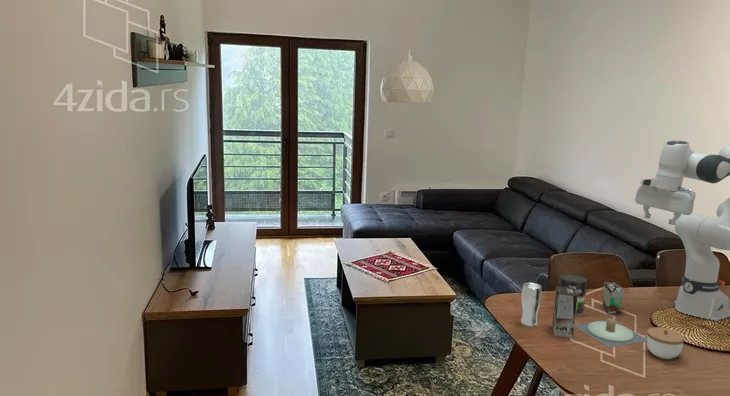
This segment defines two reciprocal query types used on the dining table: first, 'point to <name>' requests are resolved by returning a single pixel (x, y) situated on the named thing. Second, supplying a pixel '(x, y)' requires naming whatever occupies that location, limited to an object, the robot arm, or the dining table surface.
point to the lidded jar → (664, 342)
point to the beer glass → (530, 303)
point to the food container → (612, 297)
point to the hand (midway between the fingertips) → (659, 221)
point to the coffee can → (575, 288)
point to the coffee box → (564, 311)
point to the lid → (610, 331)
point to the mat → (610, 344)
